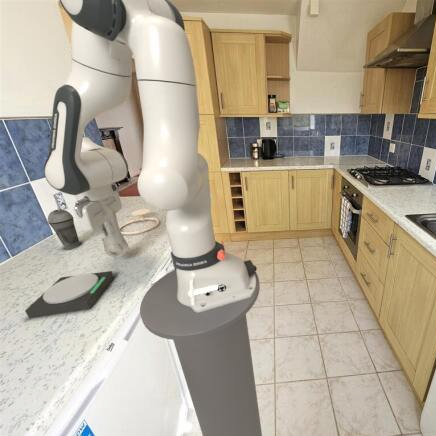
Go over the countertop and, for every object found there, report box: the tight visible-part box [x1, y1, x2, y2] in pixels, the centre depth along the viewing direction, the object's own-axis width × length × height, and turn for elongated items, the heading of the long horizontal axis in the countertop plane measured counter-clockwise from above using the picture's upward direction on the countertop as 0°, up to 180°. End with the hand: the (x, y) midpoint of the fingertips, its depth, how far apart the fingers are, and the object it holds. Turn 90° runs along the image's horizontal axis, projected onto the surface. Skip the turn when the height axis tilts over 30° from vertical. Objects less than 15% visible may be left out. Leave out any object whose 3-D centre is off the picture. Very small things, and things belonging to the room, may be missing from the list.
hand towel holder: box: [119, 208, 160, 236], centre depth 113 cm, size 17×4×21 cm
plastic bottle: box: [101, 203, 130, 258], centre depth 80 cm, size 6×7×20 cm
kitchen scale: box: [24, 270, 115, 319], centre depth 69 cm, size 14×14×3 cm
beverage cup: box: [47, 197, 81, 250], centre depth 93 cm, size 7×7×20 cm
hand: (109, 232), depth 80 cm, fingers closed on plastic bottle, 5 cm apart
